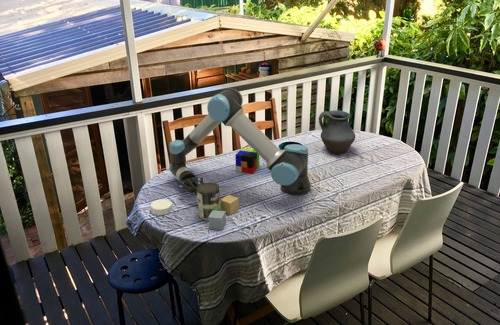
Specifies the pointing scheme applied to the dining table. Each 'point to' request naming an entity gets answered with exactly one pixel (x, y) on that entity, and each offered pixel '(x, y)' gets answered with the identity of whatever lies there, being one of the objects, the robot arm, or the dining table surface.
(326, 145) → the pitcher
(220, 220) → the slate block
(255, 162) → the puzzle toy
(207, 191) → the coffee can
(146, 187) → the dining table surface
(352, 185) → the dining table surface
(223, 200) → the ochre block
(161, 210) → the cream disc
